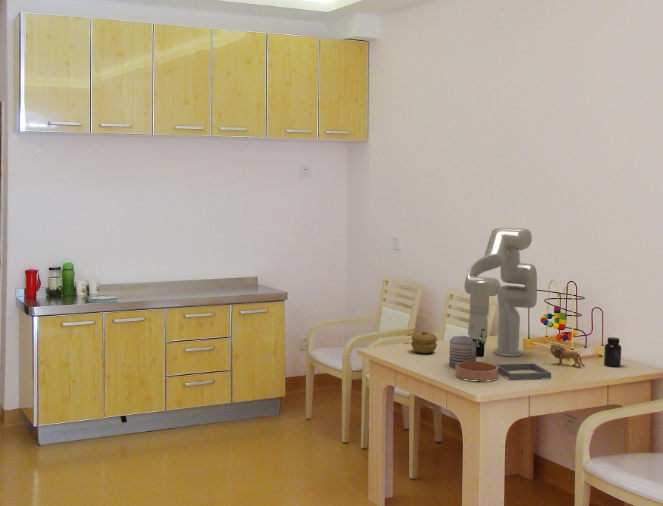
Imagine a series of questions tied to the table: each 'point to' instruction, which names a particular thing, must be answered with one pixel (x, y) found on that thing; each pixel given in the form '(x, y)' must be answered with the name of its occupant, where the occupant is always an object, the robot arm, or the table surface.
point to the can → (460, 350)
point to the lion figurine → (565, 355)
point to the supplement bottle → (612, 353)
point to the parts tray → (540, 375)
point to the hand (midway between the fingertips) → (477, 354)
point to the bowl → (477, 371)
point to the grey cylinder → (474, 348)
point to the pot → (424, 342)
